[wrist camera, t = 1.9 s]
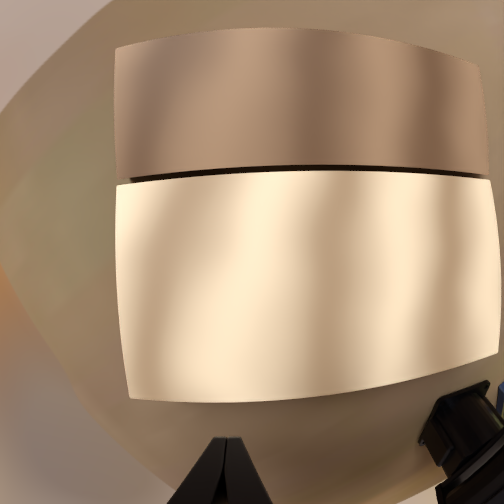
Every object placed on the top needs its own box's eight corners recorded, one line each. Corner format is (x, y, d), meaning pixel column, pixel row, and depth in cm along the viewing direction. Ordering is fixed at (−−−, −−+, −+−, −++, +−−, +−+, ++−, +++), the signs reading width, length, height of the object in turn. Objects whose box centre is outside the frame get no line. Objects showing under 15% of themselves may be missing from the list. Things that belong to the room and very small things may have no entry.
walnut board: (464, 70, 12) (478, 65, 11) (473, 173, 14) (488, 174, 13) (126, 57, 12) (115, 48, 11) (128, 177, 14) (117, 179, 13)
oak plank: (475, 186, 14) (489, 180, 13) (482, 348, 14) (497, 352, 12) (128, 193, 14) (116, 185, 13) (140, 387, 14) (129, 397, 12)
